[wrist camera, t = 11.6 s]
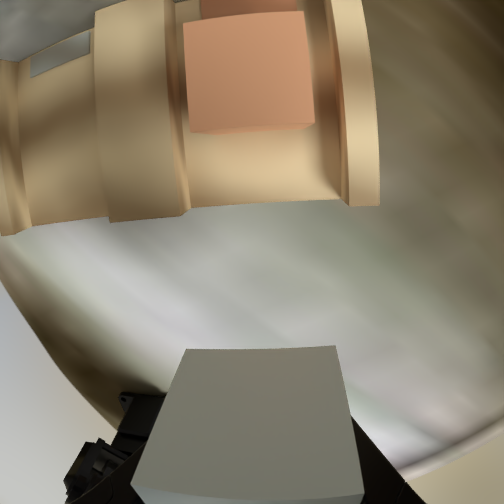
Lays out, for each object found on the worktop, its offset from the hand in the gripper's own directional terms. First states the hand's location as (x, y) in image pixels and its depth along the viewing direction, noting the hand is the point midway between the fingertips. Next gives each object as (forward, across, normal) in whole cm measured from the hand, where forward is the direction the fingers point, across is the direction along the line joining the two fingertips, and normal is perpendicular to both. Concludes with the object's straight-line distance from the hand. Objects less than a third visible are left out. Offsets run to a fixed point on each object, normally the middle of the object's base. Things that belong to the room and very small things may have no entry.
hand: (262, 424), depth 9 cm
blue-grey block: (+1, 0, 0) cm, 1 cm away
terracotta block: (+10, 0, -11) cm, 15 cm away
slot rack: (+11, +6, -11) cm, 17 cm away
